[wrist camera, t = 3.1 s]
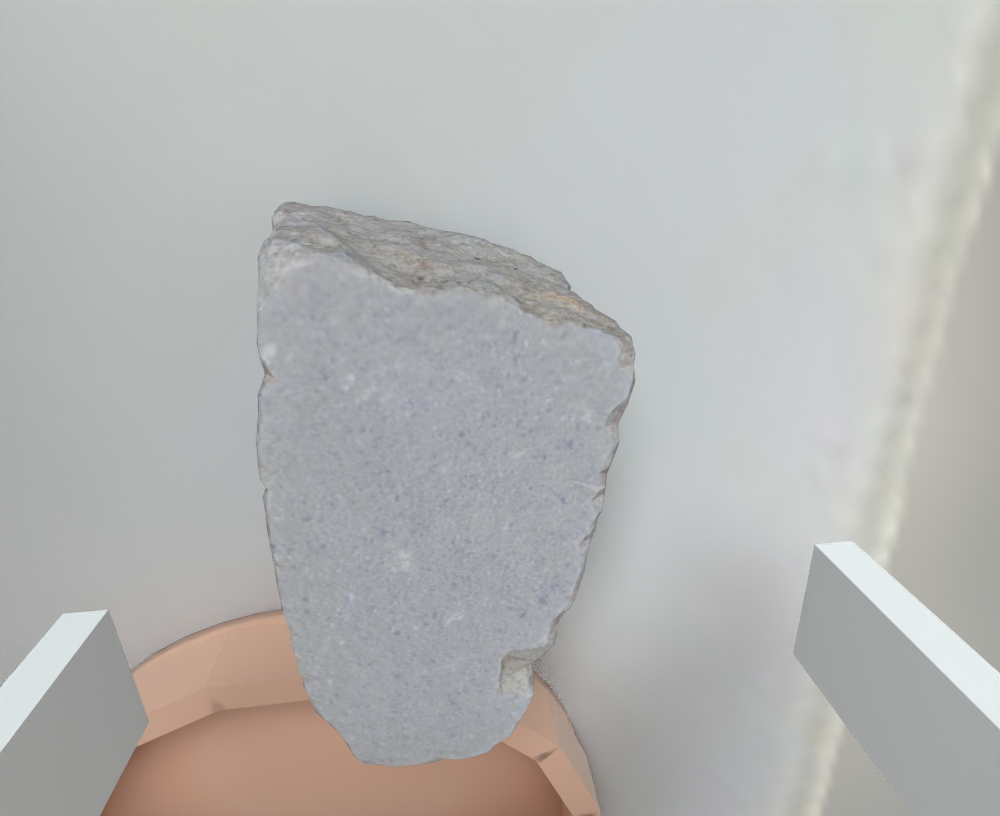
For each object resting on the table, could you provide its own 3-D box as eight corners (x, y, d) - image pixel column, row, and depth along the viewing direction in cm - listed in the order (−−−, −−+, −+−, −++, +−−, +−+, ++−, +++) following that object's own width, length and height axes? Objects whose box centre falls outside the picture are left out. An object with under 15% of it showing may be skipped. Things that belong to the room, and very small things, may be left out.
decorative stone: (525, 133, 16) (171, 233, 16) (602, 117, 10) (16, 282, 10) (614, 549, 22) (359, 627, 22) (697, 704, 16) (341, 817, 16)
